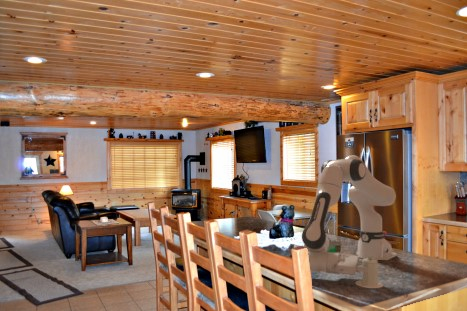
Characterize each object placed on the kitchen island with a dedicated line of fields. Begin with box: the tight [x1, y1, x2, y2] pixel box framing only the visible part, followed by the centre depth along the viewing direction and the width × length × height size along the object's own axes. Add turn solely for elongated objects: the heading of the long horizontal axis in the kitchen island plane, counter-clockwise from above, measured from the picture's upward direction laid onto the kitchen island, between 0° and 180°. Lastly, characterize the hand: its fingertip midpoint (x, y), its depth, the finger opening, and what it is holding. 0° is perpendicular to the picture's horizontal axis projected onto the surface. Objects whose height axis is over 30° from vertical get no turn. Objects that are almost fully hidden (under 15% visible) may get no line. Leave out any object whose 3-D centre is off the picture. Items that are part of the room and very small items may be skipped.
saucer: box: [354, 279, 384, 289], centre depth 170 cm, size 11×11×1 cm
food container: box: [327, 237, 343, 253], centre depth 217 cm, size 12×6×10 cm, turn 21°
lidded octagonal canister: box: [361, 257, 379, 286], centre depth 170 cm, size 6×6×11 cm
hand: (369, 266), depth 170 cm, fingers open, 8 cm apart
